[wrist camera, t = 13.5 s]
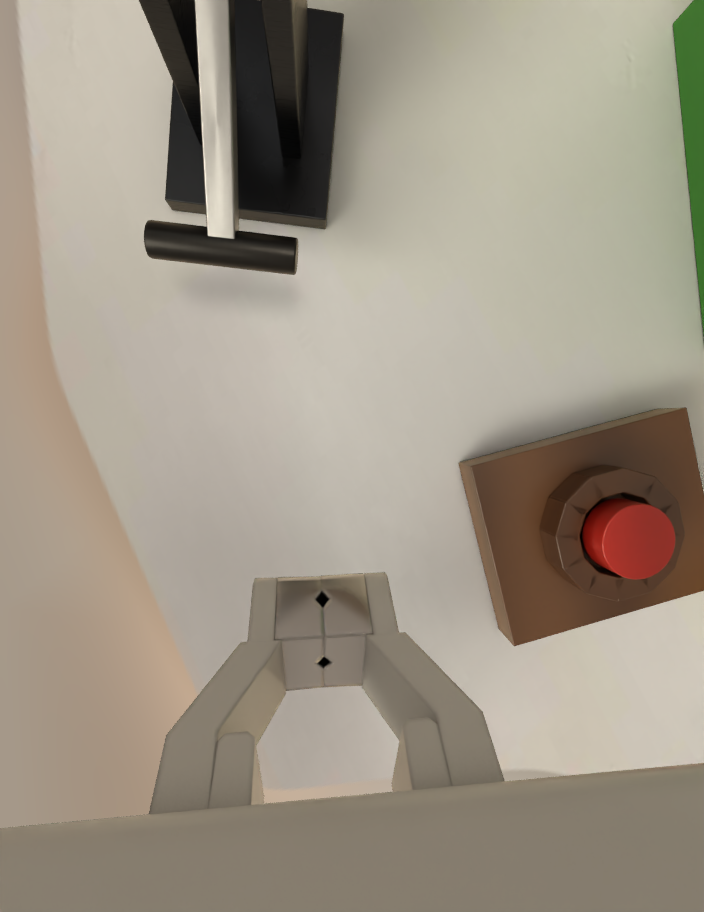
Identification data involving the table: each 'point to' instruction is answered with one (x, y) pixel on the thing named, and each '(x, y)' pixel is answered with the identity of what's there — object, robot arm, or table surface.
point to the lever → (219, 166)
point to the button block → (583, 521)
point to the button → (629, 538)
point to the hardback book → (693, 118)
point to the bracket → (258, 107)
